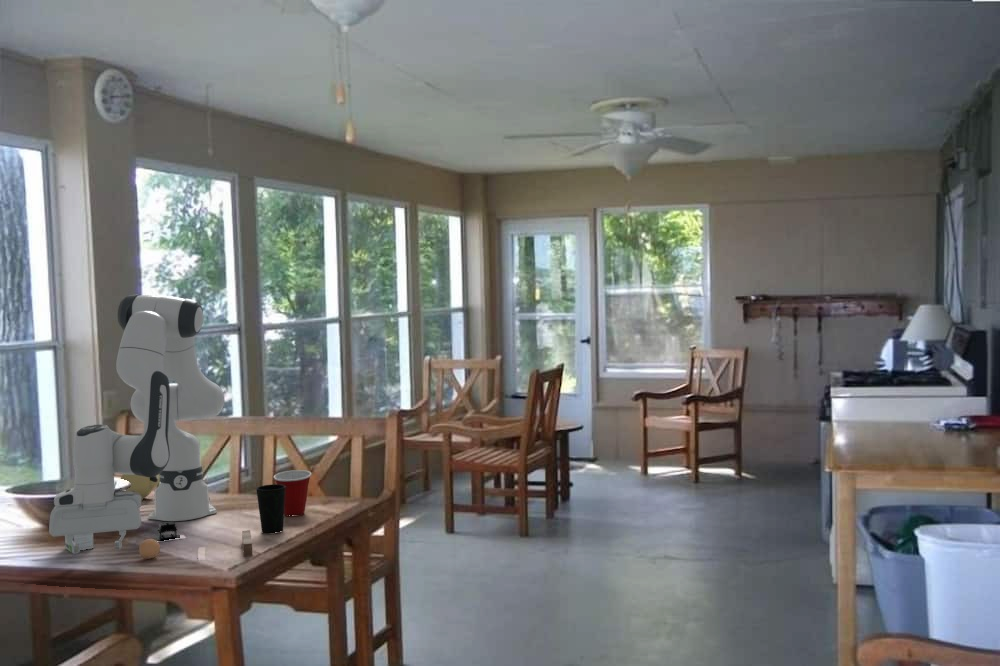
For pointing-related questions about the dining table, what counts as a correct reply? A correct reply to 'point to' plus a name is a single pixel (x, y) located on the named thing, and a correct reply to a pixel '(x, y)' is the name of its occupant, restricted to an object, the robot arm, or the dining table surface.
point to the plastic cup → (294, 490)
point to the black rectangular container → (165, 528)
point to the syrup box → (81, 541)
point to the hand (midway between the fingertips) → (97, 550)
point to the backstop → (247, 543)
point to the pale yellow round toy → (141, 484)
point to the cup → (271, 507)
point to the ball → (149, 548)
